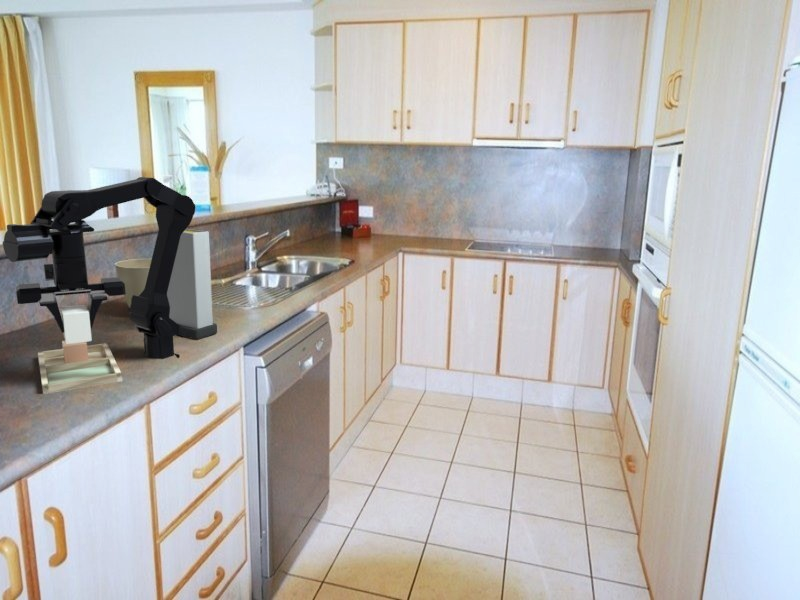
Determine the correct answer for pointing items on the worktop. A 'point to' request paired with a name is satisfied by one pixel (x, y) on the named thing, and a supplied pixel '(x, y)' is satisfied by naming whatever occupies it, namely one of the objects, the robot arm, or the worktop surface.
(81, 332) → the block
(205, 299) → the container
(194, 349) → the worktop surface
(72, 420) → the worktop surface
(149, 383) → the worktop surface
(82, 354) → the terracotta block
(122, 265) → the plant pot
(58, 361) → the slot cradle
